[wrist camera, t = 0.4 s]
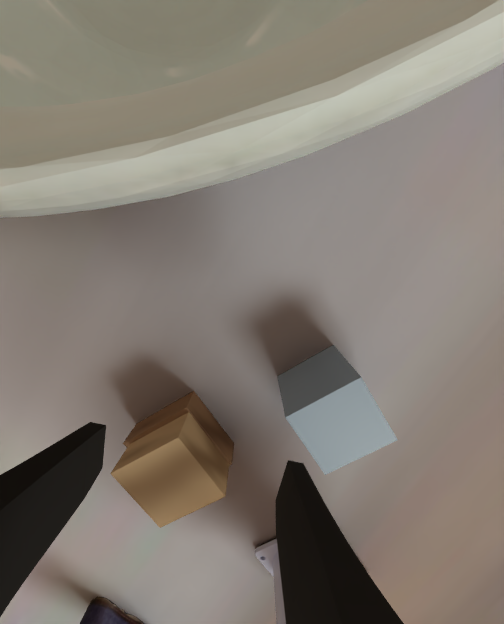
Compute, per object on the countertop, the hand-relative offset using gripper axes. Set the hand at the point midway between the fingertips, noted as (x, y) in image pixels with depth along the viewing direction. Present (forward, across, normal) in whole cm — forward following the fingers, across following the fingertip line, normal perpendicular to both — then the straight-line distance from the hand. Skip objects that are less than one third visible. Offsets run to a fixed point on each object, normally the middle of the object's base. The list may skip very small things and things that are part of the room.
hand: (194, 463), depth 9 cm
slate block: (+10, -8, +1) cm, 13 cm away
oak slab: (+8, +2, +8) cm, 11 cm away
